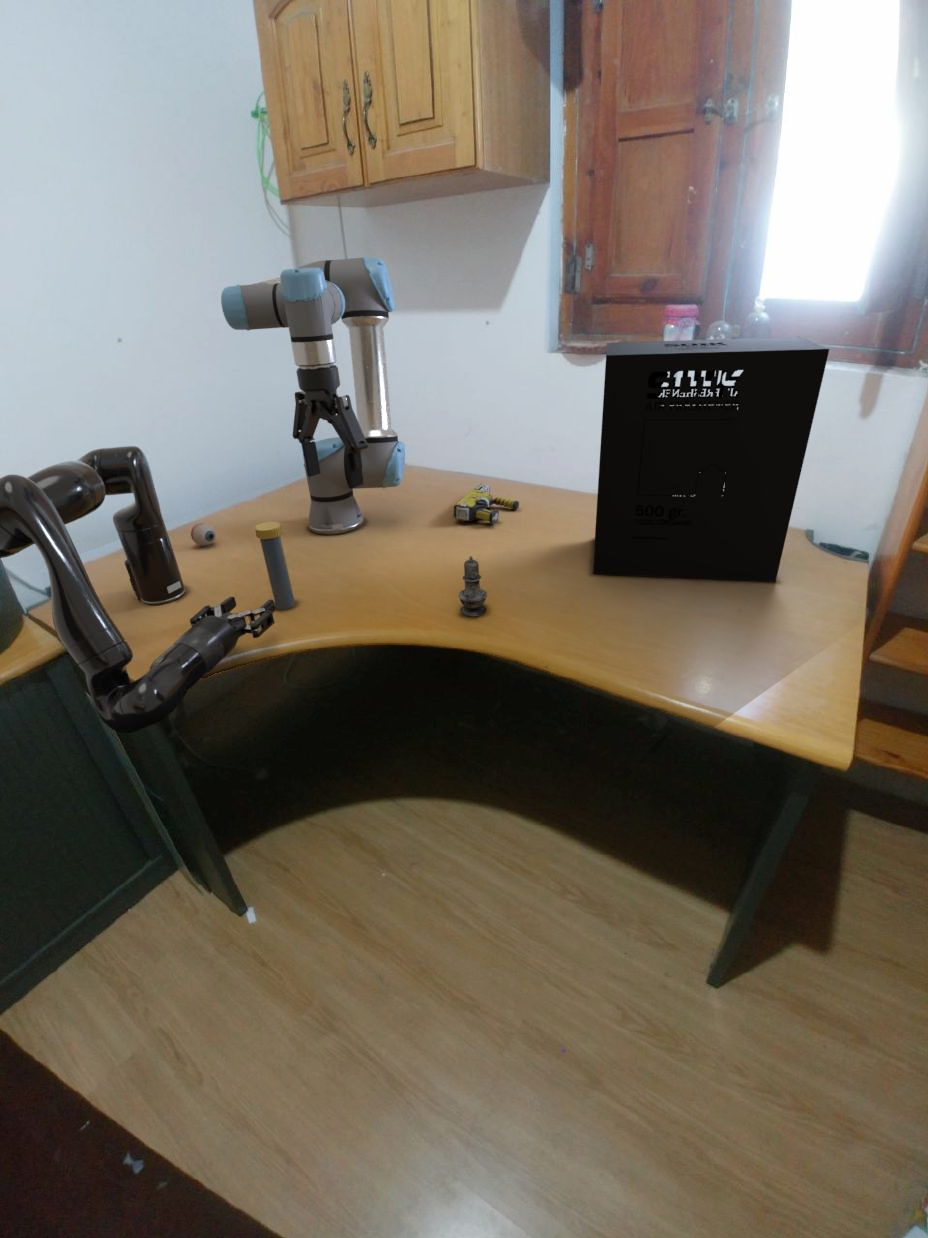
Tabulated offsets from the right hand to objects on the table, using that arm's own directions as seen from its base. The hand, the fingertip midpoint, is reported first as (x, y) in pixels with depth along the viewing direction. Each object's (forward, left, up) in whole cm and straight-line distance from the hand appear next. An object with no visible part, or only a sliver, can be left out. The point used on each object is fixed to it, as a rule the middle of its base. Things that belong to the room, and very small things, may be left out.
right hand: (335, 480), depth 120 cm
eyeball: (-52, -17, -25) cm, 60 cm away
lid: (-4, -14, -8) cm, 16 cm away
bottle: (-4, -14, -25) cm, 29 cm away
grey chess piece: (+24, +15, -25) cm, 38 cm away
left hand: (+2, -22, -19) cm, 29 cm away
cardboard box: (+36, +65, -25) cm, 79 cm away
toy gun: (-19, +54, -25) cm, 62 cm away
